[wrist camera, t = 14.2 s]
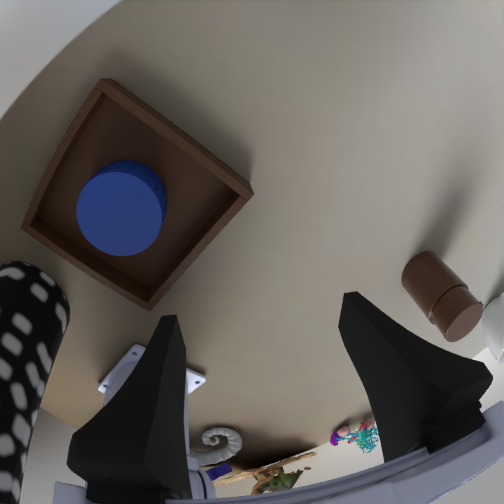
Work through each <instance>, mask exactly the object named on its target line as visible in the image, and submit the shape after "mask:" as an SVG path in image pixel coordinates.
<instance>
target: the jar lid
mask: <svg viewBox="0 0 504 504" xmlns="http://www.w3.org/2000/svg"><path fill="white" fill-rule="evenodd" d="M167 202H168V199H167V197H166V189H165V188H164V185H163V183H162V179H160V178H159V177H158V175H157V174H156V173H155V171H153V170H152V169H150V168H149V167H147V166H146V164H142V163H139V162H136V160H134V161H131V160H125V159H123V160H122V161H117V162H114V161H113V162H112V163H111V164H109V165H107V166H103V167H102V168H101V169H100V170H99V171H98V172H97V173H96V174H95V175H94V176H93V177H91V178H90V179H89V180H88V181H87V182H86V185H85V186H84V188H83V189H82V191H81V192H80V195H79V197H78V200H77V206H76V215H77V221H78V224H79V227H80V229H81V231H82V233H83V235H84V236H85V238H86V239H87V240H88V241H89V242H90V243H91V244H92V245H93V246H95V247H96V248H97V249H99V250H101V251H103V252H105V253H108V254H111V255H116V256H129V255H134V254H137V253H139V252H141V251H143V250H145V249H146V248H148V247H149V246H150V245H151V244H152V243H153V242H154V240H155V239H156V237H157V236H158V234H159V233H160V229H161V226H162V224H163V222H164V219H165V215H166V211H167V210H166V205H167Z"/></svg>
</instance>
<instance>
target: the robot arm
mask: <svg viewBox="0 0 504 504" xmlns="http://www.w3.org/2000/svg"><path fill="white" fill-rule="evenodd" d="M338 328H339V331H340V334H341V337H342V340H343V343H344V346H345V348H346V350H347V352H348V354H349V356H350V358H351V360H352V362H353V364H354V366H355V369H356V371H357V373H358V375H359V377H360V379H361V381H362V383H363V385H364V388H365V390H366V393H367V396H368V399H369V402H370V405H371V408H372V411H373V415H374V418H375V421H376V425H377V429H378V433H379V437H380V441H381V447H382V452H383V457H384V464H381V465H378V466H375V467H372V468H369V469H367V470H363V471H360V472H357V473H354V474H350V475H347V476H343V477H340V478H336V479H332V480H329V481H325V482H320V483H316V484H312V485H308V486H303V487H298V488H293V489H288V490H282V491H276V492H270V493H263V494H256V495H248V496H239V497H228V498H216V492H215V488H214V485H213V482H212V480H211V479H210V478H209V476H208V474H207V473H206V472H205V471H204V470H202V469H198V465H197V459H196V458H191V457H190V449H189V420H188V394H189V393H191V392H192V391H193V390H195V389H196V388H197V387H199V386H200V385H201V384H202V383H204V382H205V381H206V376H205V375H203V374H200V373H198V372H196V371H193V370H191V369H189V368H187V367H186V347H185V344H184V340H183V337H182V333H181V330H180V326H179V322H178V319H177V315H168V316H162V317H161V318H160V320H159V323H158V325H157V327H156V329H155V331H154V333H153V335H152V337H151V339H150V341H149V343H148V345H147V347H146V348H144V347H143V346H141V345H138V344H135V345H133V346H132V347H131V348H130V349H129V350H128V352H127V353H126V354H125V355H124V356H123V357H122V359H121V360H120V361H119V362H118V363H117V364H116V365H115V367H114V368H113V369H112V370H111V371H110V372H109V374H108V375H107V376H106V377H105V378H104V379H103V381H102V382H101V383H100V384H99V385H98V390H99V391H101V392H103V393H105V398H104V404H103V408H102V409H101V410H100V411H99V412H98V413H97V414H96V415H95V416H94V417H93V418H92V419H91V420H90V421H89V422H87V423H86V424H85V425H84V426H82V427H81V428H80V429H79V430H78V431H76V432H75V433H74V434H73V435H72V439H71V442H70V446H69V452H68V458H67V466H68V467H69V469H71V471H73V472H74V473H75V474H77V475H78V476H80V477H81V478H82V479H84V480H85V488H84V487H81V486H76V485H72V484H66V483H62V482H55V488H54V497H53V504H429V503H431V502H433V501H434V500H436V499H438V498H440V497H442V496H444V495H446V494H447V493H449V492H450V491H452V490H454V489H456V488H458V487H459V486H461V485H463V484H464V483H466V482H467V481H469V480H471V479H472V478H474V477H475V476H477V475H478V474H480V473H481V472H483V471H484V470H486V469H487V468H489V467H490V466H492V465H493V464H495V463H496V462H497V461H499V460H500V459H501V458H502V457H504V402H503V401H500V402H498V403H497V404H495V405H493V406H492V407H490V408H488V409H487V410H486V411H484V412H483V413H481V411H480V410H479V409H480V408H481V407H482V405H481V403H480V401H479V399H480V398H481V397H482V396H483V394H484V393H485V392H486V390H487V389H488V388H489V386H490V385H491V383H492V380H493V376H492V374H491V373H490V371H489V370H488V369H487V367H486V366H485V364H484V363H483V362H480V361H476V360H472V359H469V358H465V357H462V356H459V355H457V354H454V353H451V352H449V351H446V350H444V349H442V348H440V347H437V346H435V345H433V344H431V343H429V342H427V341H425V340H424V339H422V338H420V337H419V336H417V335H415V334H413V333H412V332H410V331H409V330H407V329H406V328H404V327H403V326H401V325H400V324H398V323H397V322H396V321H394V320H393V319H391V318H390V317H389V316H388V315H386V314H385V313H384V312H382V311H381V310H380V309H379V308H377V307H376V306H375V305H373V304H372V303H371V302H370V301H368V300H367V299H366V298H365V297H363V296H362V295H361V294H360V293H358V292H357V291H355V292H349V293H344V297H343V303H342V309H341V314H340V320H339V325H338Z"/></svg>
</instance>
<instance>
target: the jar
mask: <svg viewBox="0 0 504 504" xmlns="http://www.w3.org/2000/svg"><path fill="white" fill-rule="evenodd" d="M402 285H403V287H404V289H405V290H406V291H407V292H408V294H409V295H410V296H411V297H412V299H413V300H414V301H415V302H416V304H417V305H418V306H419V308H420V309H421V310H422V312H423V313H424V314H425V316H426V317H427V318H428V320H429V321H430V322H431V323H432V324H434V325H436V326H437V328H438V329H439V330H440V332H441V333H442V334H443V336H444V338H445V339H446V340H447V341H449V342H455V341H458V340H460V339H462V338H463V337H465V336H466V335H467V334H468V333H469V332H470V331H472V329H473V328H474V327H475V326H476V325H477V323H478V322H479V320H480V318H481V316H482V313H483V304H482V303H481V301H480V302H479V301H478V300H477V299H476V298H475V297H474V296H473V295H472V294H471V293H470V291H469V289H468V286H467V285H466V284H465V283H464V282H463V281H462V280H461V279H460V278H459V277H458V276H457V275H456V274H455V273H454V272H453V271H452V270H451V269H450V268H449V267H448V266H447V265H446V264H445V263H444V262H443V261H442V260H441V259H440V258H439V257H438V256H437V255H436V254H435V253H433V252H429V251H427V252H423V253H420V254H418V255H417V256H415V257H414V258H413V259H412V260H411V261H410V262H409V263H408V264H407V266H406V268H405V269H404V272H403V274H402Z"/></svg>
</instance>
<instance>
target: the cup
mask: <svg viewBox="0 0 504 504" xmlns="http://www.w3.org/2000/svg"><path fill="white" fill-rule="evenodd" d="M482 328H483V333H484V337H485V340H486V343H487V345H488V347H489V349H490V351H491V352H492V354H493V355H494V356H495V358H496V359H497V361H498V362H499V363H503V362H504V292H503V293H502V294H501V295H500V296H499V297H496V298H494V299H493V300H492V301H491V302H490V303H489V304H488V305H487V307H486V308H485V310H484V311H483V314H482Z"/></svg>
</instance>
